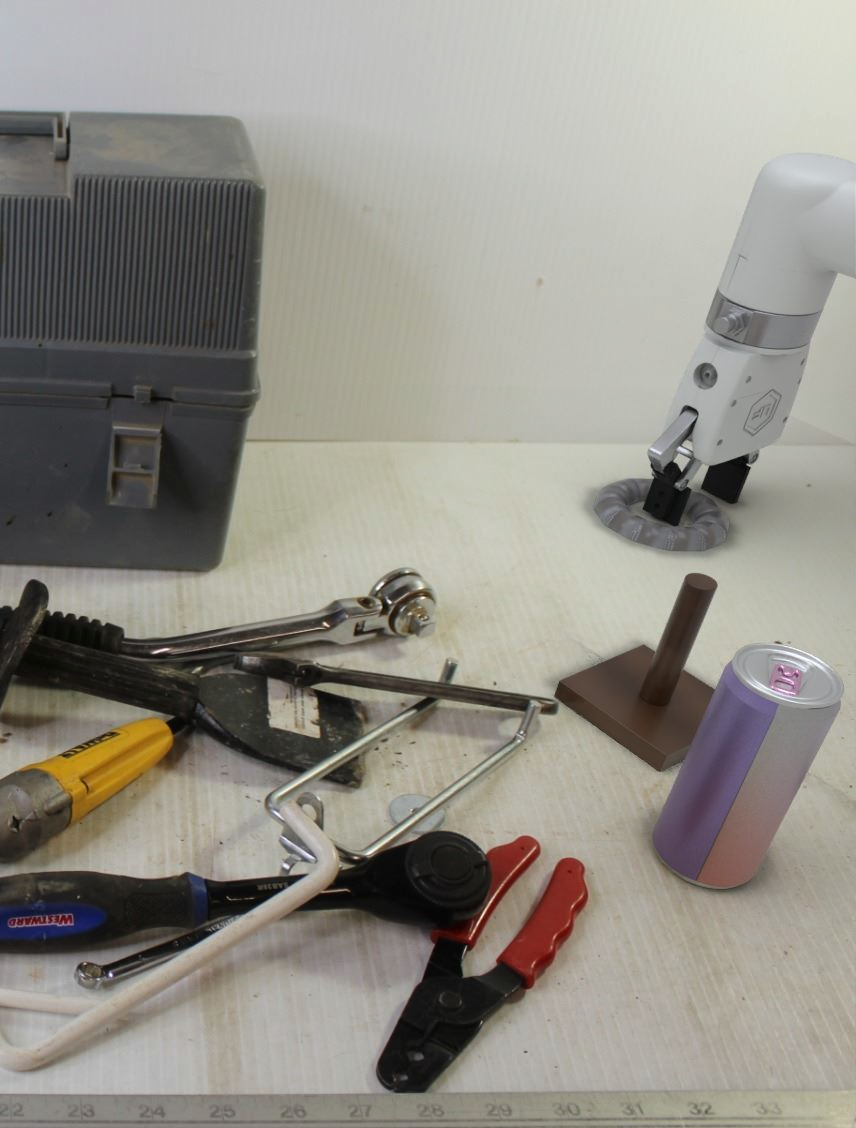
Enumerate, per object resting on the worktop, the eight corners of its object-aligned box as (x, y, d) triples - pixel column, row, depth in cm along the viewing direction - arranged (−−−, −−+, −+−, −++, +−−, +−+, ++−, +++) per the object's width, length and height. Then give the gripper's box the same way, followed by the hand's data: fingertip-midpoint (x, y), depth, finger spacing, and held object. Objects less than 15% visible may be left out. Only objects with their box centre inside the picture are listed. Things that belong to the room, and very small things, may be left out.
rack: (637, 659, 100) (687, 531, 93) (745, 729, 93) (807, 597, 87) (553, 696, 96) (598, 565, 90) (659, 771, 90) (717, 636, 83)
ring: (644, 487, 120) (653, 462, 119) (748, 543, 113) (759, 517, 111) (564, 516, 116) (572, 491, 115) (666, 576, 109) (676, 550, 107)
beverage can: (639, 867, 83) (722, 681, 74) (658, 811, 87) (738, 628, 78) (744, 909, 80) (843, 721, 71) (759, 848, 84) (853, 663, 75)
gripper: (732, 359, 99) (657, 558, 109) (874, 314, 106) (791, 505, 116) (647, 322, 104) (583, 515, 115) (787, 281, 111) (715, 467, 121)
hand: (688, 508), depth 115 cm, fingers open, 6 cm apart
